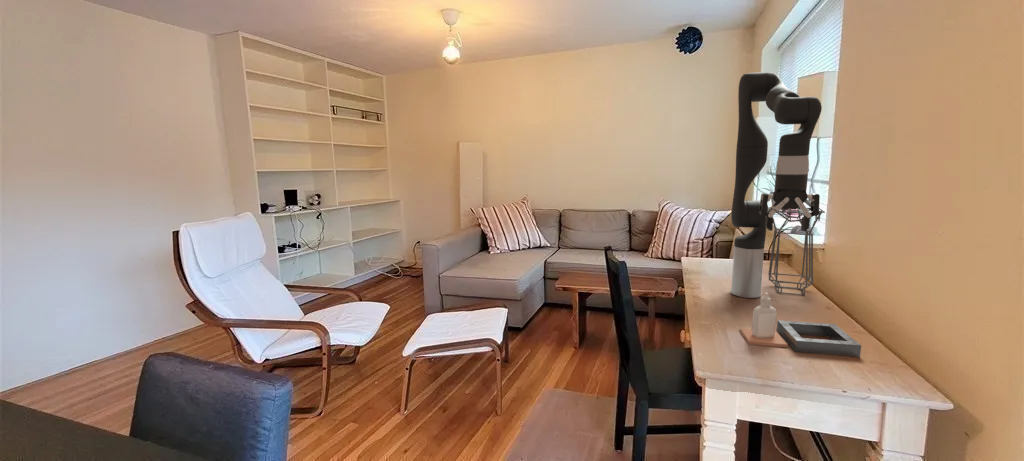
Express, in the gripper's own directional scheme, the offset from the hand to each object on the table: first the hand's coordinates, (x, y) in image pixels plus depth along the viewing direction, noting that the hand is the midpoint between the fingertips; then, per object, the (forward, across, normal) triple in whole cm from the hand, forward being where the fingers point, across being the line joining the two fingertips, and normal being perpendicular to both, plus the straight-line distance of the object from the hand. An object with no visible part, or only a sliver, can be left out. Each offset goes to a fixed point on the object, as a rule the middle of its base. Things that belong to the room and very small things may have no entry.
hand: (786, 230), depth 123 cm
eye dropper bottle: (+27, +7, +12) cm, 31 cm away
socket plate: (+28, -5, +12) cm, 31 cm away
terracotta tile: (+28, +7, +12) cm, 31 cm away
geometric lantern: (+28, -14, -36) cm, 48 cm away
